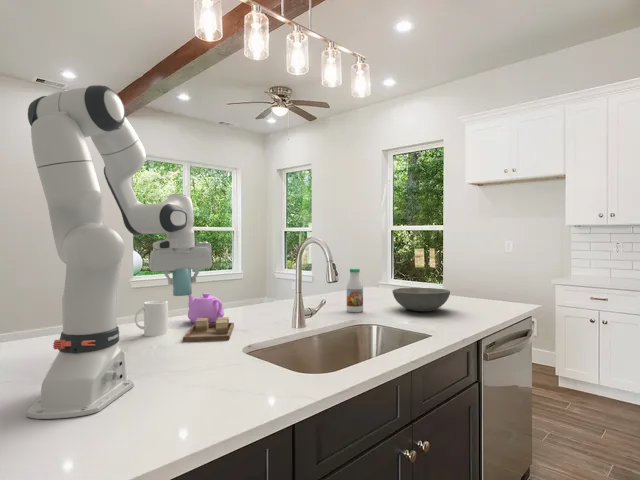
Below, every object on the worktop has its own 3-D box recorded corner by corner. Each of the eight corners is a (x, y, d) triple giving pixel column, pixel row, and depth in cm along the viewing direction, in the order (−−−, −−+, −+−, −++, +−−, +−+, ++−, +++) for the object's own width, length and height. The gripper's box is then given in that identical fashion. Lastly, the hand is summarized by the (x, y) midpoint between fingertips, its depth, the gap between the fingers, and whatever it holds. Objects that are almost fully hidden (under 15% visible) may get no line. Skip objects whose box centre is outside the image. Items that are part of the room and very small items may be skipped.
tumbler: (181, 296, 132) (180, 269, 131) (169, 295, 135) (168, 268, 135) (195, 293, 137) (194, 267, 136) (183, 292, 140) (182, 267, 140)
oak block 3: (227, 333, 144) (227, 322, 144) (216, 334, 143) (216, 322, 143) (226, 330, 148) (226, 319, 148) (215, 331, 147) (215, 320, 147)
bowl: (389, 314, 179) (389, 292, 179) (395, 304, 204) (395, 284, 204) (450, 317, 171) (450, 294, 171) (449, 306, 196) (449, 286, 196)
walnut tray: (229, 341, 135) (229, 335, 135) (183, 343, 133) (183, 337, 133) (233, 328, 155) (233, 322, 155) (193, 329, 153) (193, 324, 153)
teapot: (173, 324, 162) (173, 293, 161) (200, 317, 174) (199, 289, 174) (210, 330, 152) (209, 297, 152) (235, 322, 164) (234, 292, 164)
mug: (138, 340, 137) (137, 306, 137) (130, 336, 143) (130, 302, 143) (172, 335, 145) (172, 302, 144) (164, 330, 151) (163, 299, 151)
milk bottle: (343, 310, 188) (343, 268, 188) (357, 309, 192) (357, 267, 191) (351, 313, 181) (351, 269, 181) (366, 311, 185) (366, 268, 184)
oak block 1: (206, 331, 147) (206, 320, 147) (195, 331, 147) (195, 320, 147) (208, 328, 151) (208, 318, 151) (197, 328, 151) (197, 318, 151)
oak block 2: (228, 329, 149) (228, 319, 149) (217, 330, 148) (217, 319, 148) (228, 327, 153) (228, 316, 153) (217, 328, 152) (217, 317, 152)
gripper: (208, 241, 143) (209, 279, 144) (147, 243, 133) (149, 285, 133) (214, 241, 138) (215, 281, 138) (150, 244, 127) (152, 287, 128)
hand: (182, 283), depth 136 cm, fingers closed on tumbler, 6 cm apart
